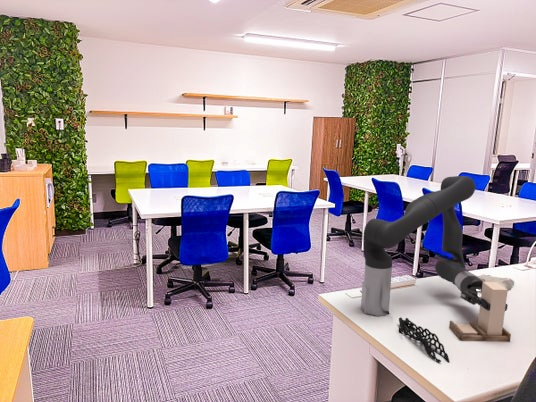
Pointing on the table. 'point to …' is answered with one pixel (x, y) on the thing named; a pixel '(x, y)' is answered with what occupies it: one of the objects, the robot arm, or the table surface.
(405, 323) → the decorative element
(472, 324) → the wooden open-ended tray
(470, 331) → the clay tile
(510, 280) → the rock
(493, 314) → the beige wooden block
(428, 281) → the table surface
